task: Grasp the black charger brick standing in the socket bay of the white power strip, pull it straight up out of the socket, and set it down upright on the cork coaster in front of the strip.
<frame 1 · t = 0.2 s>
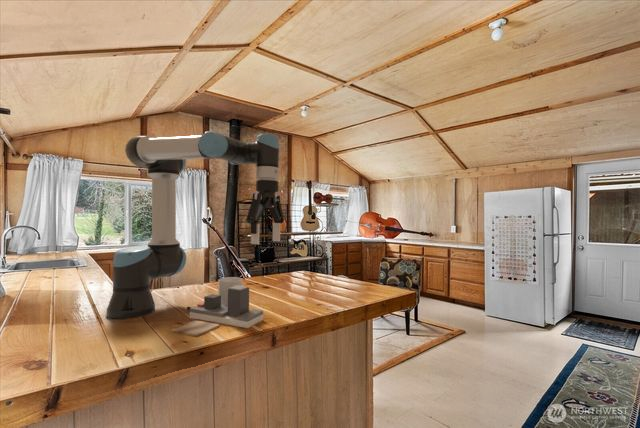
hand: (266, 242, 111), 27 cm above the countertop, fingers open, 13 cm apart
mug: (229, 307, 127), on the countertop
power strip: (226, 318, 112), on the countertop
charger: (238, 314, 110), point 2 cm above the countertop, touching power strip
coaster: (196, 328, 102), on the countertop
cable: (194, 311, 120), on the countertop
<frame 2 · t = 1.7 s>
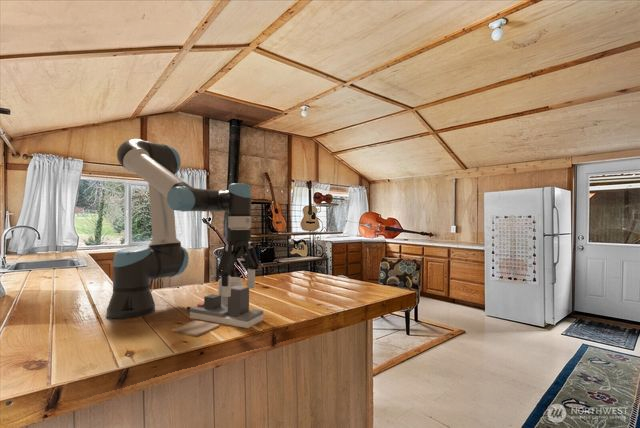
hand: (239, 291, 110), 10 cm above the countertop, fingers open, 13 cm apart
nothing on the countertop moved.
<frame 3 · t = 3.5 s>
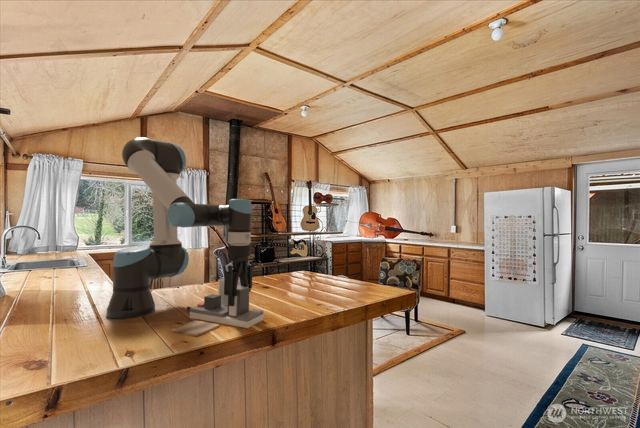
hand: (238, 312, 110), 3 cm above the countertop, fingers closed on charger, 5 cm apart
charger: (238, 314, 110), point 2 cm above the countertop, touching gripper, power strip
everything else where it was.
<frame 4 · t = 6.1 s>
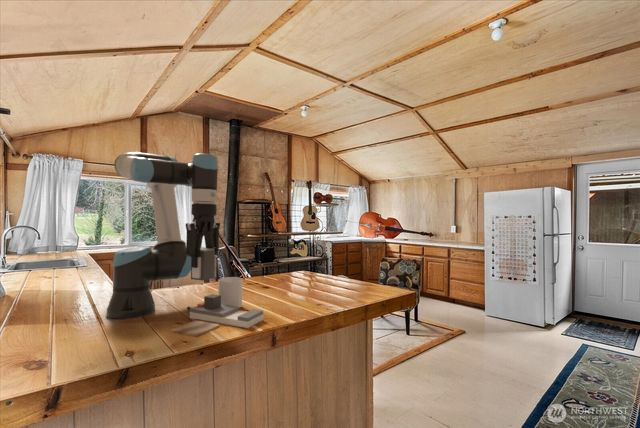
hand: (202, 276, 104), 16 cm above the countertop, fingers closed on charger, 5 cm apart
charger: (202, 278, 104), point 16 cm above the countertop, touching gripper
everything else where it was.
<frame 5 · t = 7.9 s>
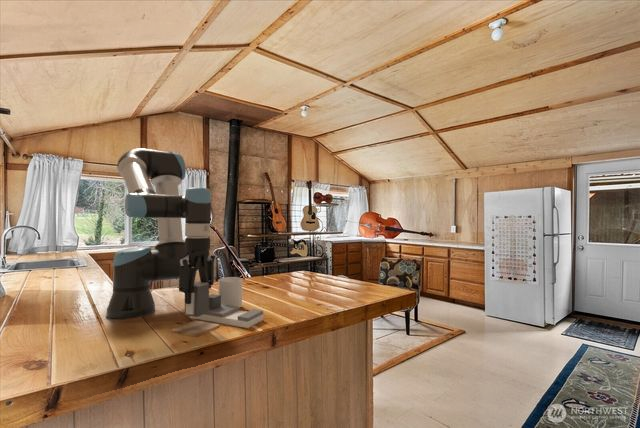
hand: (196, 311, 102), 6 cm above the countertop, fingers closed on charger, 5 cm apart
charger: (196, 313, 102), point 5 cm above the countertop, touching gripper
everything else where it was.
when the fingers open (3 cm above the countertop, at t = 9.0 s): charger drops 2 cm, resting on coaster.
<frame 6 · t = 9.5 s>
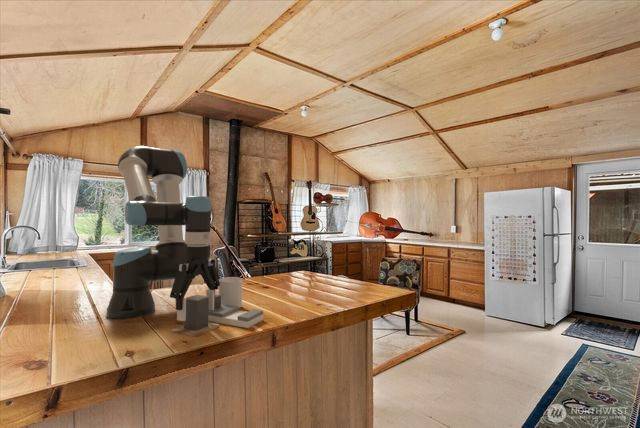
hand: (196, 314, 102), 4 cm above the countertop, fingers open, 11 cm apart
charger: (196, 327, 102), point 1 cm above the countertop, touching coaster
everything else where it was.
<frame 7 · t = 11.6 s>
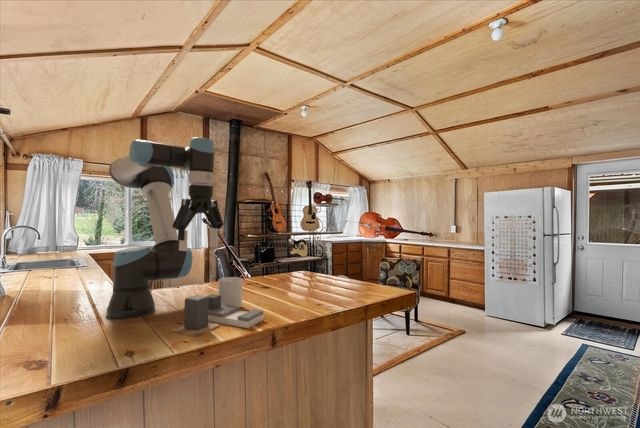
hand: (199, 248, 109), 24 cm above the countertop, fingers open, 13 cm apart
nothing on the countertop moved.
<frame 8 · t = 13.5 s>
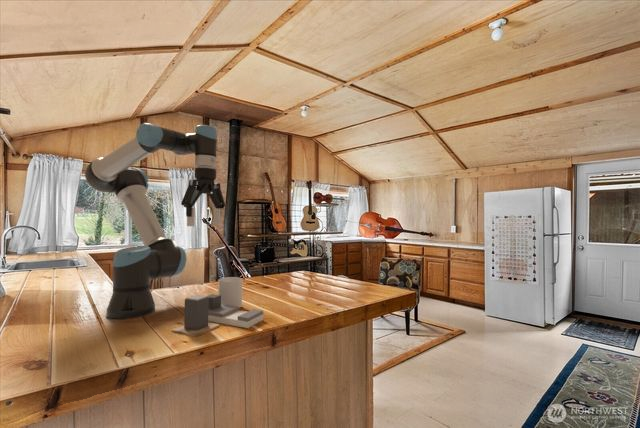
hand: (204, 225, 120), 32 cm above the countertop, fingers open, 13 cm apart
nothing on the countertop moved.
at the end: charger 0.0 cm from the coaster (horizontally); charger point 0.6 cm above the countertop; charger tilted 0° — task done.
